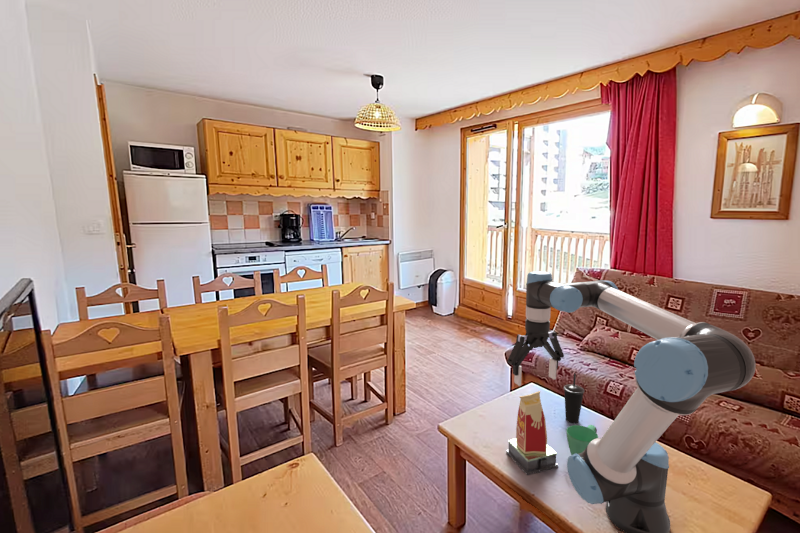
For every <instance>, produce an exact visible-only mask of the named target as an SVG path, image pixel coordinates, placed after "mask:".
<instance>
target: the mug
mask: <svg viewBox="0 0 800 533" xmlns="http://www.w3.org/2000/svg"><path fill="white" fill-rule="evenodd" d="M565 430H566V431H565V432H566V438H567V440H566V441H567V445H568V448H569V453H570V456H571V455H573V454H575V453H577V454H579V453H582V452H583V451H584V450H585V449H586V447H587V446H588V444H589V443H590V442H591V441H592V440H594V439H596V438H599V434H598V429H597V427H596V426H595V425H593V424H589V425H588V426H584V425H581V424H577V425H576V424H574V425H573V424H572V425H569V426H568V427H567V428H566V429H565Z"/></svg>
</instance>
